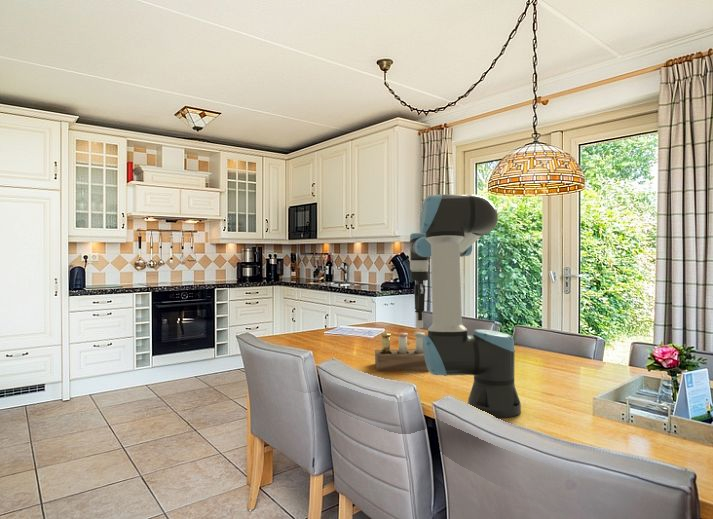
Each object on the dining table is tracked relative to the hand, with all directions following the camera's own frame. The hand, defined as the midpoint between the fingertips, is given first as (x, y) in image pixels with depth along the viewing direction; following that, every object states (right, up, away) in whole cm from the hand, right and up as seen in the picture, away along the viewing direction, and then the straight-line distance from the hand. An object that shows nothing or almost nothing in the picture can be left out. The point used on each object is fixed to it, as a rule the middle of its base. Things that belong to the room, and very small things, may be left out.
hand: (419, 327), depth 187 cm
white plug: (-7, -11, 0) cm, 13 cm away
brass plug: (-14, -11, -1) cm, 18 cm away
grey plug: (0, -11, 0) cm, 11 cm away
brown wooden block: (-7, -16, 0) cm, 17 cm away
